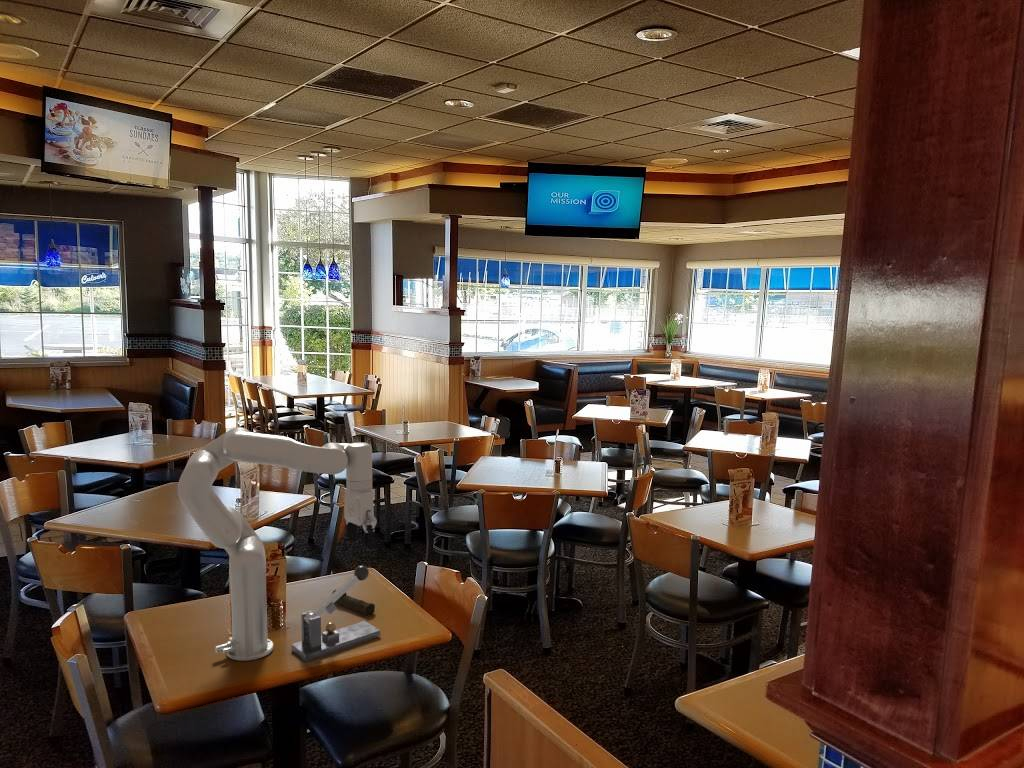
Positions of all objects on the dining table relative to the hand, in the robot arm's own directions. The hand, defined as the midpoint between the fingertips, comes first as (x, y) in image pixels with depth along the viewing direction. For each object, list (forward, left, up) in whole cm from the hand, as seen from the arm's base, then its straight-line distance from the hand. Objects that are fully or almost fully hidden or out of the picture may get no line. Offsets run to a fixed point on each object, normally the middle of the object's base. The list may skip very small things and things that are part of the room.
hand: (360, 541), depth 218 cm
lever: (-6, 0, -17) cm, 18 cm away
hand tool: (+7, +20, -30) cm, 36 cm away
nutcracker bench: (-9, 0, -29) cm, 31 cm away
